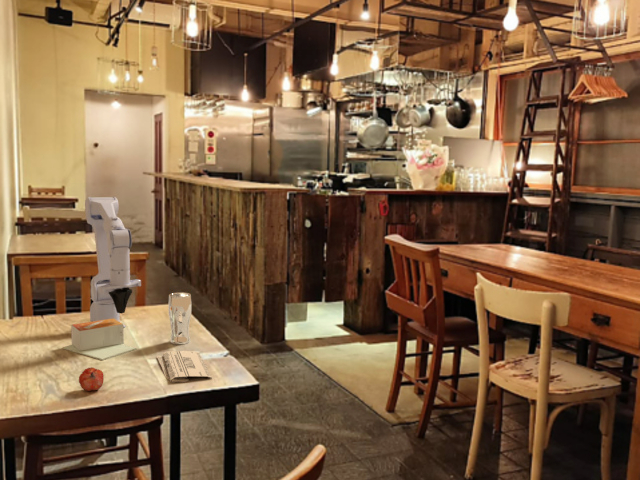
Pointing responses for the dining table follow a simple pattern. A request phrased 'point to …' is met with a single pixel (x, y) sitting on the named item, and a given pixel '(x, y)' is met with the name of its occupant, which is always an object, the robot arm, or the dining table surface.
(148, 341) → the dining table surface
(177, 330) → the beer glass
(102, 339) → the small box
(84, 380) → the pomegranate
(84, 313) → the dining table surface
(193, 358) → the newspaper
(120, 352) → the mat
